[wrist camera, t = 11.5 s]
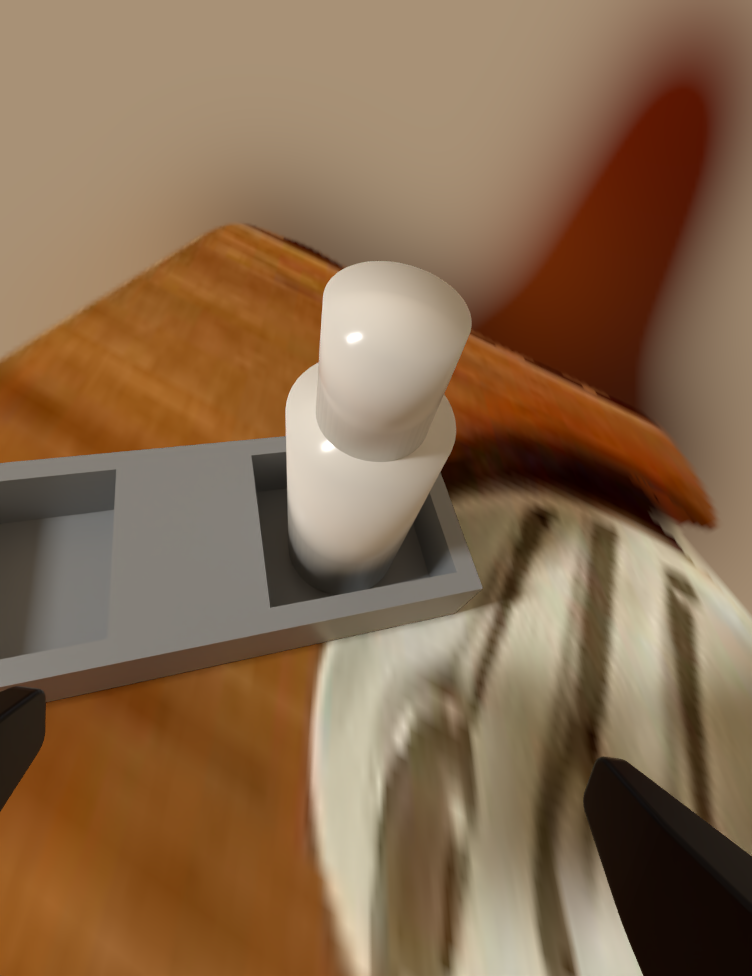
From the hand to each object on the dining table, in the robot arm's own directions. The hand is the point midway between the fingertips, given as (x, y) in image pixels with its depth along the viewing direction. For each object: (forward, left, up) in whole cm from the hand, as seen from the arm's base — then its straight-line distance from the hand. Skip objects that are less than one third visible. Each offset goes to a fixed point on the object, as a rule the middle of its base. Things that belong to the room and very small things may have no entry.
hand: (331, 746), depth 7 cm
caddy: (+8, -3, -11) cm, 13 cm away
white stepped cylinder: (+4, -7, -10) cm, 13 cm away
